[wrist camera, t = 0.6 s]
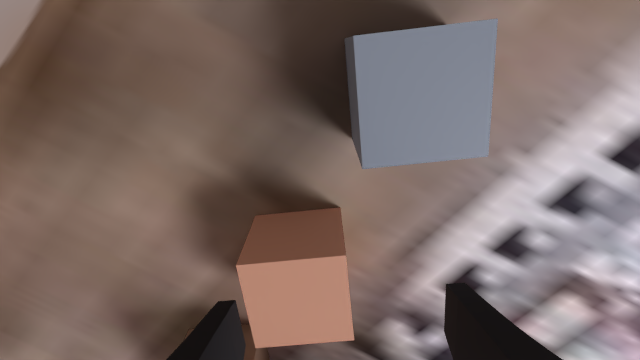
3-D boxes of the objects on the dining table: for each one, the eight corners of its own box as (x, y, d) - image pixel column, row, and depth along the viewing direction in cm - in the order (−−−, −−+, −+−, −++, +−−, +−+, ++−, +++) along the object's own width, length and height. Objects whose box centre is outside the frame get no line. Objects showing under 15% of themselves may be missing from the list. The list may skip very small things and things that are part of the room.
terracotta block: (347, 277, 22) (354, 340, 17) (269, 284, 22) (255, 348, 17) (340, 206, 20) (345, 255, 15) (255, 214, 20) (236, 265, 16)
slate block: (445, 128, 18) (488, 156, 14) (352, 138, 19) (362, 169, 14) (448, 26, 17) (497, 18, 12) (344, 38, 17) (353, 35, 12)
